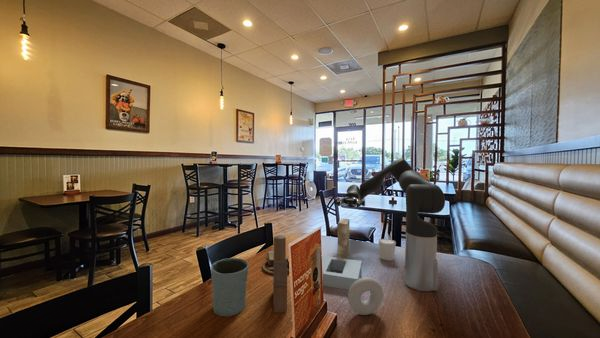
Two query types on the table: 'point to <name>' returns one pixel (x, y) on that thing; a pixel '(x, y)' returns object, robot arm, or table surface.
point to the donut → (372, 301)
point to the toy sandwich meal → (272, 263)
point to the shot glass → (387, 249)
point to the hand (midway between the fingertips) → (347, 204)
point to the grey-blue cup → (229, 286)
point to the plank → (343, 238)
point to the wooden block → (280, 274)
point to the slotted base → (348, 267)
